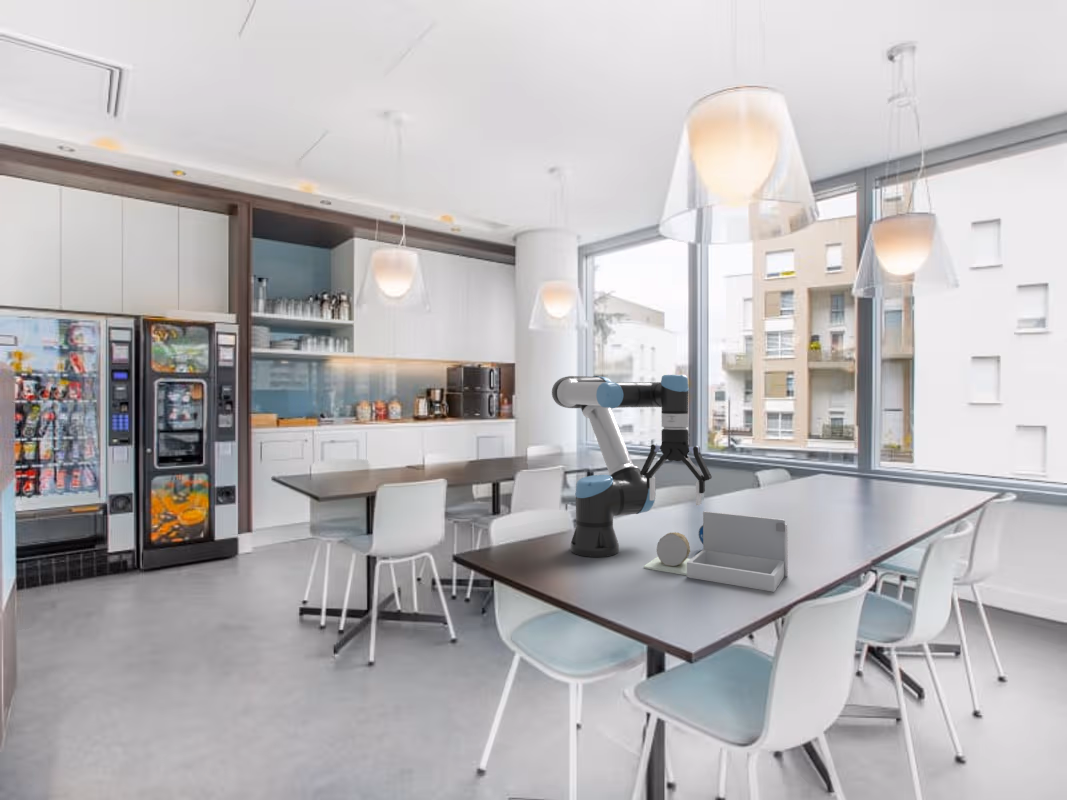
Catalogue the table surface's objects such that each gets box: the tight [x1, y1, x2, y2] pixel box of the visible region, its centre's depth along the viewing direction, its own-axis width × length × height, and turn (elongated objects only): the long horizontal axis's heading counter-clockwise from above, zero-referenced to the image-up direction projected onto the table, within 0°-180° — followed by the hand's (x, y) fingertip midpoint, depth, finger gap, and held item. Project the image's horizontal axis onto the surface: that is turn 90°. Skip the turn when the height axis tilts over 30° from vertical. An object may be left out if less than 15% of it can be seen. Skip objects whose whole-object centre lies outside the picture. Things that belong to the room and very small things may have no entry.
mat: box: [643, 556, 706, 576], centre depth 164 cm, size 14×14×1 cm
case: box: [686, 510, 789, 593], centre depth 154 cm, size 23×16×15 cm
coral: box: [656, 531, 691, 566], centre depth 163 cm, size 10×10×10 cm
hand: (675, 502), depth 164 cm, fingers open, 13 cm apart
